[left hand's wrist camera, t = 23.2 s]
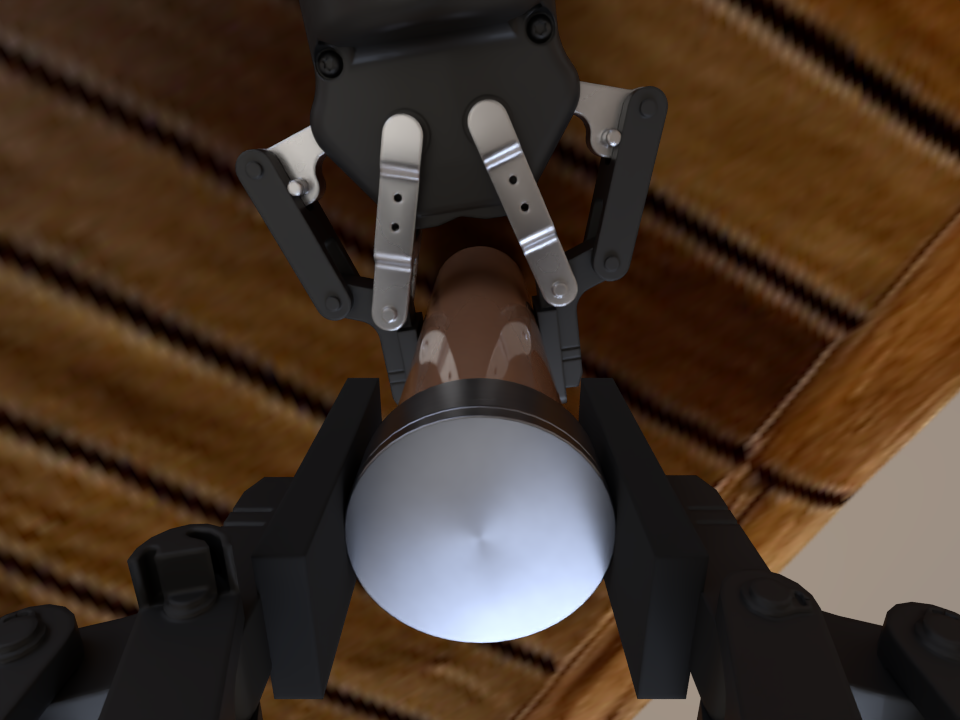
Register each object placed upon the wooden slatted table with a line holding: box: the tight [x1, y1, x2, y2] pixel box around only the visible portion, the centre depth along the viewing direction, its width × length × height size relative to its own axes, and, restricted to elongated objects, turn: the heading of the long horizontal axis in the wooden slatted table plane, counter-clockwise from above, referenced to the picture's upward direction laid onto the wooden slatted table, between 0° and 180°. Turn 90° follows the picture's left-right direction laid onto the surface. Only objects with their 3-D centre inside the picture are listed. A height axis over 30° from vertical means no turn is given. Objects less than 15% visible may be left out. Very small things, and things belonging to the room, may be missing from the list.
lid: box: [344, 378, 617, 643], centre depth 12 cm, size 5×5×2 cm
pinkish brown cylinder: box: [398, 246, 562, 406], centre depth 20 cm, size 4×4×17 cm
